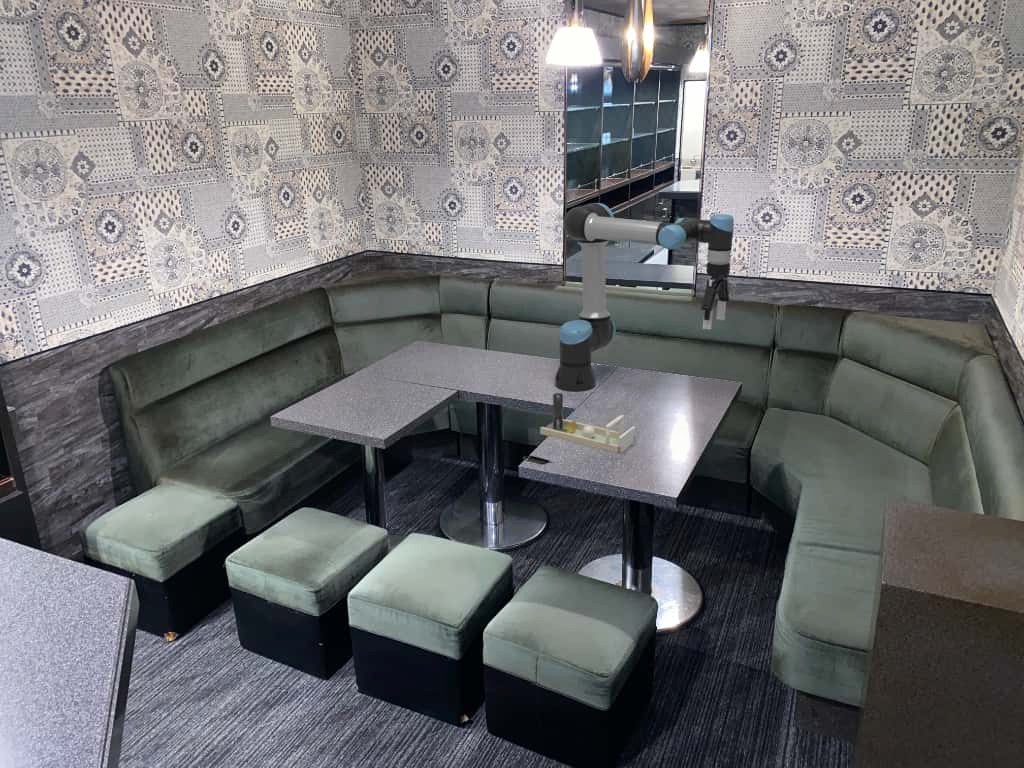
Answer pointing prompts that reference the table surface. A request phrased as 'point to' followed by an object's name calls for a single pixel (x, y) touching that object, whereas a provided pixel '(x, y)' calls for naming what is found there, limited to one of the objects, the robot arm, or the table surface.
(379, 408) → the table surface
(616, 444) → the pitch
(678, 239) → the robot arm
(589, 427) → the ball
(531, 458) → the phone
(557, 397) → the rod
